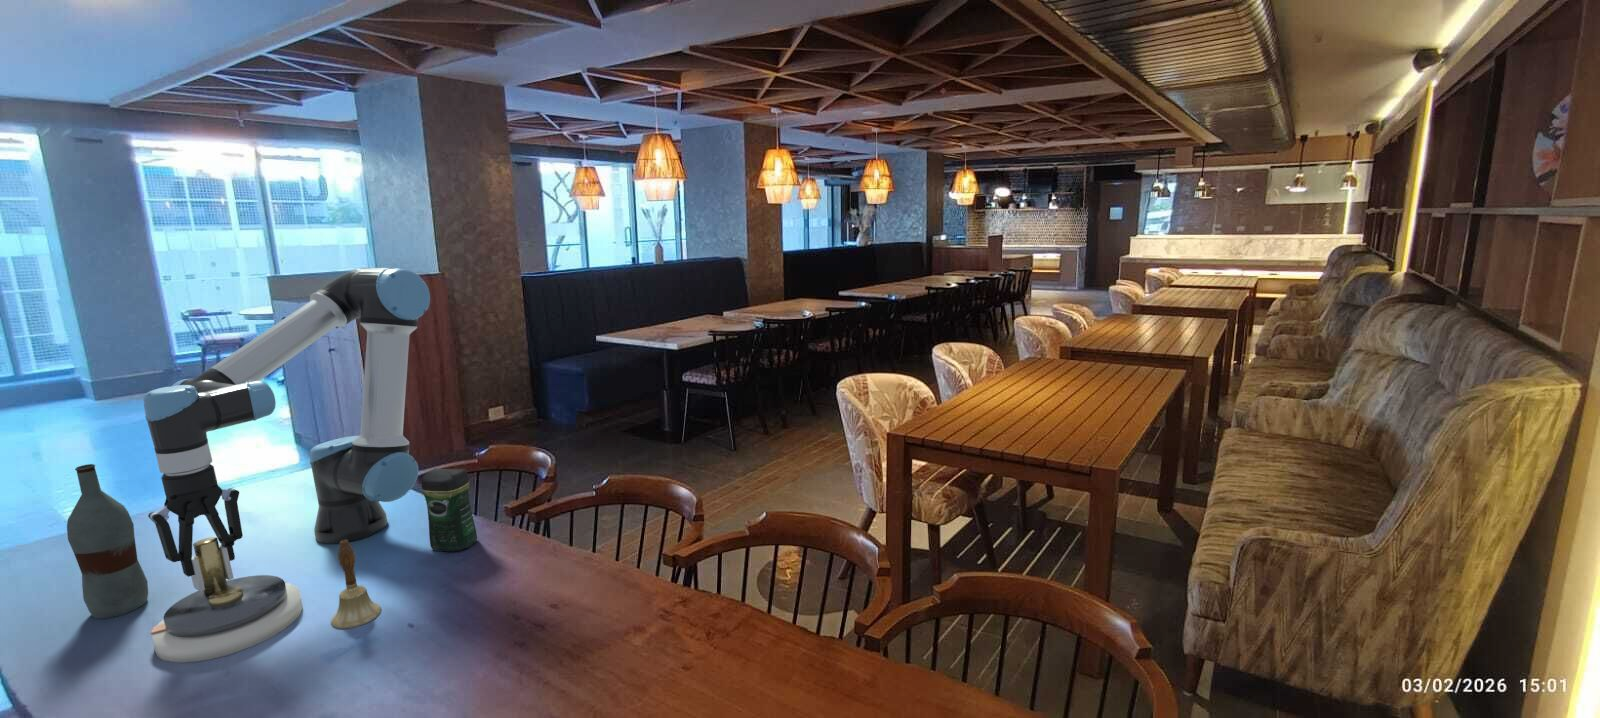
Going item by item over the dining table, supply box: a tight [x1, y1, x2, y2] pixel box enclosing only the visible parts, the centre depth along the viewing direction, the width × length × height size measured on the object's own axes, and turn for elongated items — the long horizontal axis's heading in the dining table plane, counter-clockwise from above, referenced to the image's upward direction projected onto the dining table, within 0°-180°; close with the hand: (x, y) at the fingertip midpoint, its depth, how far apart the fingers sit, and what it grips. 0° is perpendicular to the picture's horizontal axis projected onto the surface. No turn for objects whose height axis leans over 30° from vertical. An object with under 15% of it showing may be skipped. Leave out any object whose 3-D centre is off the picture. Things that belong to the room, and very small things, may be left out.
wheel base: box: [150, 582, 303, 664], centre depth 135 cm, size 22×22×4 cm
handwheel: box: [163, 536, 287, 637], centre depth 133 cm, size 18×18×12 cm
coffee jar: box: [421, 468, 478, 552], centre depth 164 cm, size 10×8×19 cm
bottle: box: [66, 463, 149, 620], centre depth 140 cm, size 9×9×30 cm
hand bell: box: [330, 539, 382, 630], centre depth 136 cm, size 8×8×16 cm
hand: (214, 582), depth 137 cm, fingers open, 4 cm apart
